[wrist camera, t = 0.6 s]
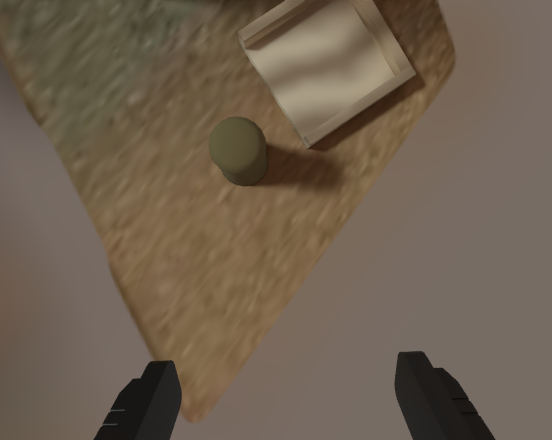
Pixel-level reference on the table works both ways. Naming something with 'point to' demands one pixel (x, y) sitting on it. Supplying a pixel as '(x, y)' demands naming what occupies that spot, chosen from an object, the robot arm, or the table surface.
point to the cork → (239, 150)
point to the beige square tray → (325, 61)
